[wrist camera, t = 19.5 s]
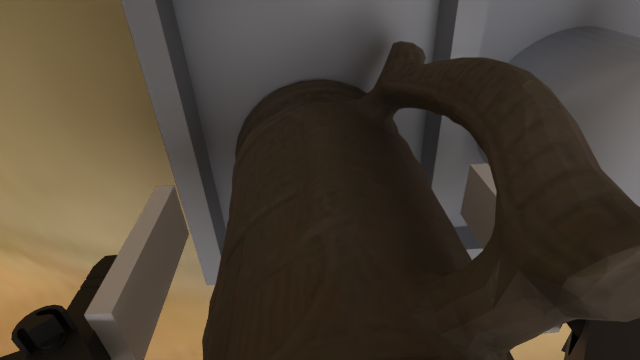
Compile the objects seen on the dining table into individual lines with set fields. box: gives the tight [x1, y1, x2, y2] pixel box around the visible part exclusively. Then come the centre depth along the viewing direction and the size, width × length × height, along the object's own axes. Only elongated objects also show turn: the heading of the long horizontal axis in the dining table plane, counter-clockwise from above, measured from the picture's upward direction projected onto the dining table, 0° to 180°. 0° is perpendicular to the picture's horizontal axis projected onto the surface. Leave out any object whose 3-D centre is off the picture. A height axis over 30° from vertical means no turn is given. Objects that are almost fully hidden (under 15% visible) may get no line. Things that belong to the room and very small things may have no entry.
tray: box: [121, 0, 640, 285], centre depth 23 cm, size 32×21×4 cm, turn 92°
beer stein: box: [202, 41, 640, 360], centre depth 15 cm, size 15×11×20 cm
